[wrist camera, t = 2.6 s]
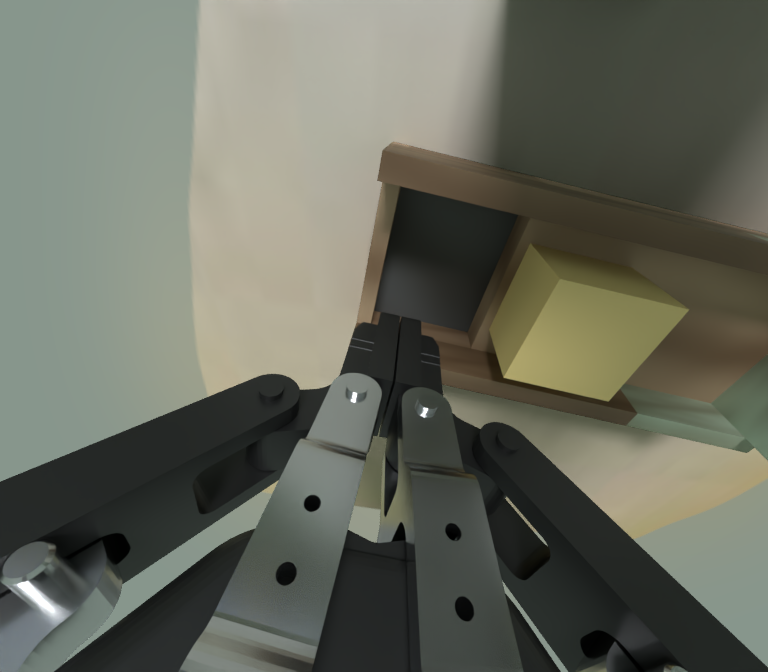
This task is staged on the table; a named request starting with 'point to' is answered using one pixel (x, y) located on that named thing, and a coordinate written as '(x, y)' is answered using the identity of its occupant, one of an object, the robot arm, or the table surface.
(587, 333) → the ochre block
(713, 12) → the table surface
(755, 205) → the table surface
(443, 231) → the channel
